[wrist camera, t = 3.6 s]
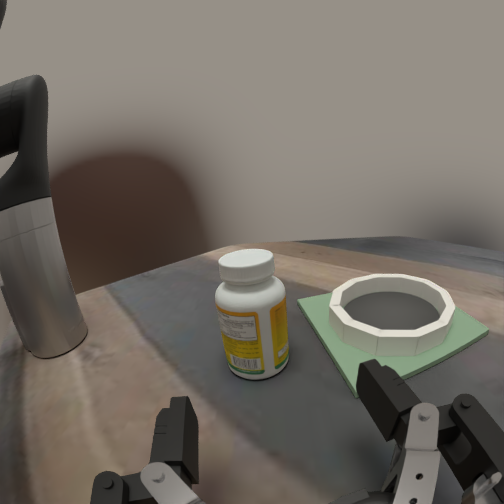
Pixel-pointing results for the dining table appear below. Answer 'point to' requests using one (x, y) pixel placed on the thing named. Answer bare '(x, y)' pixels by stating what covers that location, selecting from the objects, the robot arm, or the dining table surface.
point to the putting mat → (389, 324)
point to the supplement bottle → (252, 314)
